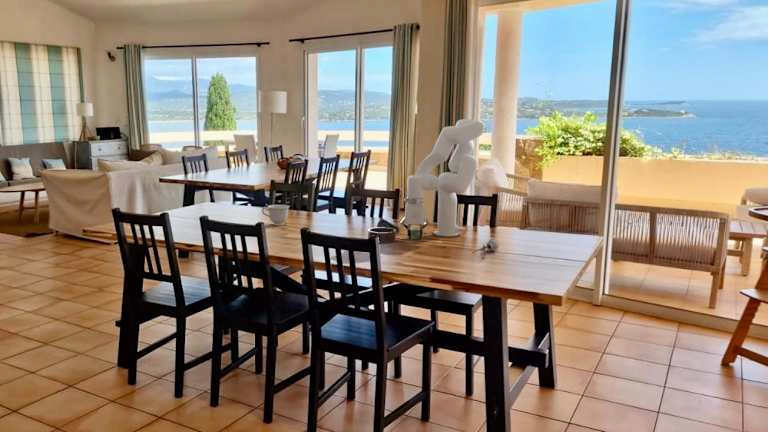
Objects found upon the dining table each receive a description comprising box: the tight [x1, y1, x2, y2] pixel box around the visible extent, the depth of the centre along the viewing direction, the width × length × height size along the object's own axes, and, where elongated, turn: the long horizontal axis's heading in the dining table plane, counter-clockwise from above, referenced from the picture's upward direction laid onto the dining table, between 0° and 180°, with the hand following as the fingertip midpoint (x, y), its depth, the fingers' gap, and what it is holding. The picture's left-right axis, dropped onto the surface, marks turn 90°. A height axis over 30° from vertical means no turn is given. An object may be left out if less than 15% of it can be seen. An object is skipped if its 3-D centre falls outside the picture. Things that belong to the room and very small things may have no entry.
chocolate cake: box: [376, 217, 401, 234], centre depth 300 cm, size 10×7×12 cm
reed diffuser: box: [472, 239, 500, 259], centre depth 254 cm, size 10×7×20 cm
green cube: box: [410, 227, 421, 240], centre depth 284 cm, size 4×4×4 cm
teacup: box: [261, 204, 290, 226], centre depth 314 cm, size 12×15×10 cm
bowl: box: [367, 227, 397, 244], centre depth 279 cm, size 13×13×5 cm
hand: (414, 237), depth 285 cm, fingers closed on green cube, 4 cm apart
